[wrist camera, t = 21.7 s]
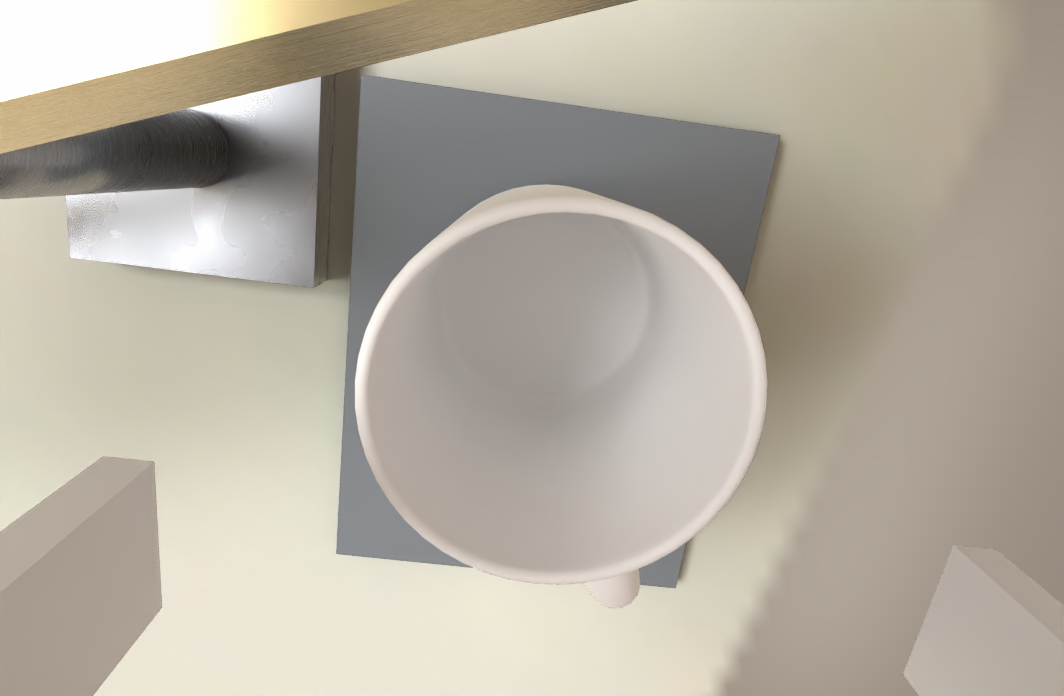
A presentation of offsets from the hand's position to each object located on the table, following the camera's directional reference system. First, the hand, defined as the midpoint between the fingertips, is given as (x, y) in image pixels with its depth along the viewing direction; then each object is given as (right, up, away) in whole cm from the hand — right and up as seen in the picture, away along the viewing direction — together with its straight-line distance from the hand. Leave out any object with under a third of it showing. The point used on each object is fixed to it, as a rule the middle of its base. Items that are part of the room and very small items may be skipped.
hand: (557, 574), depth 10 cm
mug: (0, +4, +13) cm, 13 cm away
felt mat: (0, +3, +13) cm, 14 cm away
